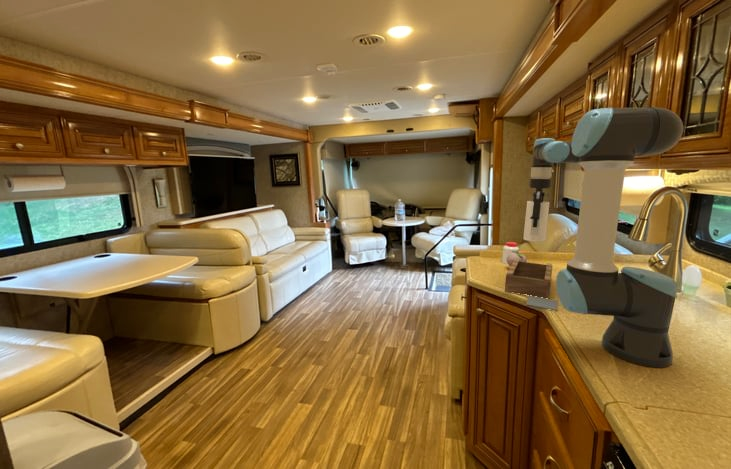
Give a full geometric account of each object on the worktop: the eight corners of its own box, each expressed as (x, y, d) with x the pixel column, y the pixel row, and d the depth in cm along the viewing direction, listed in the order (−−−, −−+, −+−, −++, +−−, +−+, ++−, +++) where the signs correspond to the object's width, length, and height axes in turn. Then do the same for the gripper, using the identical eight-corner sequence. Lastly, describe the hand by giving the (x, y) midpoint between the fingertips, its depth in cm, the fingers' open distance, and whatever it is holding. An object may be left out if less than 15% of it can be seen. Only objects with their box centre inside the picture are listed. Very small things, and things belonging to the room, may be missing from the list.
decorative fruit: (501, 267, 169) (503, 248, 167) (515, 266, 171) (517, 247, 169) (514, 273, 160) (516, 253, 158) (528, 271, 162) (530, 252, 160)
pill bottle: (500, 263, 177) (502, 243, 174) (503, 260, 183) (505, 240, 181) (515, 265, 172) (518, 245, 170) (518, 262, 178) (520, 242, 176)
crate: (548, 299, 128) (551, 280, 126) (504, 291, 136) (506, 273, 134) (550, 280, 150) (552, 263, 148) (512, 274, 158) (514, 258, 156)
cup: (541, 242, 133) (546, 203, 130) (520, 239, 138) (524, 201, 135) (547, 239, 139) (551, 201, 136) (526, 237, 144) (530, 200, 141)
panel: (557, 311, 117) (557, 310, 117) (526, 305, 122) (526, 304, 122) (557, 302, 125) (557, 300, 125) (528, 296, 130) (528, 295, 130)
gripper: (550, 178, 123) (543, 238, 127) (552, 178, 141) (546, 230, 145) (528, 178, 127) (522, 236, 131) (532, 177, 144) (527, 228, 149)
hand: (534, 233), depth 138 cm, fingers closed on cup, 8 cm apart
